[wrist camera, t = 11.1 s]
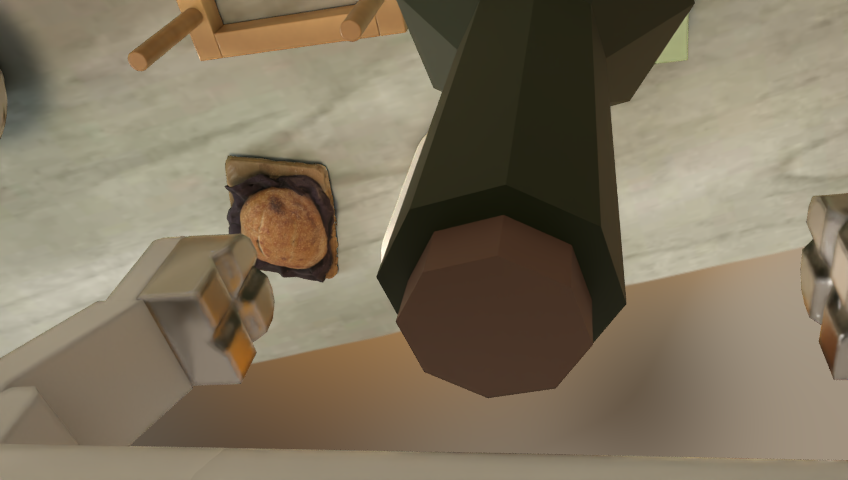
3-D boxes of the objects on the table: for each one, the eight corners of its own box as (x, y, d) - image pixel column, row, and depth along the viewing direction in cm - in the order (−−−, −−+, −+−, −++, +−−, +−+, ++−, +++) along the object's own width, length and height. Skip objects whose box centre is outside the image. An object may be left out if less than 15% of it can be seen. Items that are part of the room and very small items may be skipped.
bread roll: (222, 150, 50) (200, 176, 47) (335, 163, 49) (320, 191, 46) (241, 265, 56) (223, 294, 53) (342, 279, 55) (329, 310, 52)
